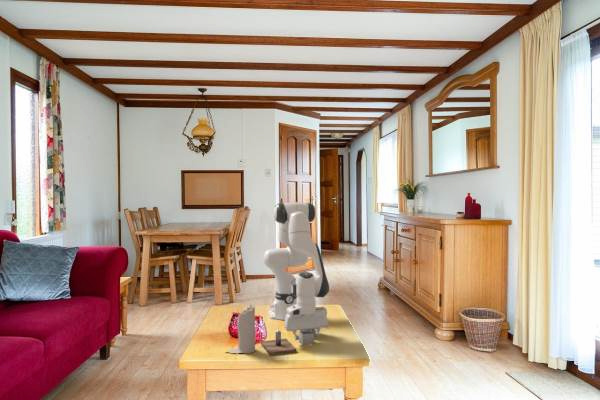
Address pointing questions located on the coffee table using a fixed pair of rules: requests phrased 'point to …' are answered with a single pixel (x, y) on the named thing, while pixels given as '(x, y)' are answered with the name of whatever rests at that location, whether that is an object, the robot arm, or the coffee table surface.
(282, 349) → the post board
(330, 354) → the coffee table surface
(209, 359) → the coffee table surface
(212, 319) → the coffee table surface
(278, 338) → the steel post
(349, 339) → the coffee table surface
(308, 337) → the collar
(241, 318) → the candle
